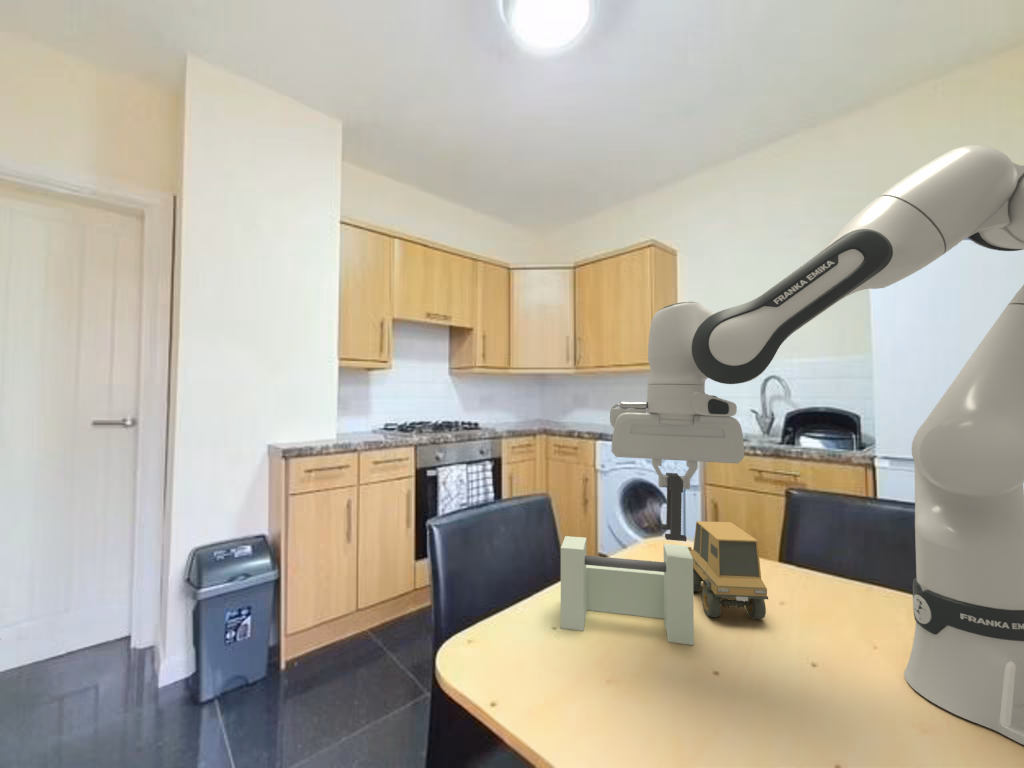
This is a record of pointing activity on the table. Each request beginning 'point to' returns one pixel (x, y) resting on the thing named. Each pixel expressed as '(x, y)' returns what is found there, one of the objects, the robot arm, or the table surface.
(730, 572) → the toy car
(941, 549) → the robot arm
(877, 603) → the table surface
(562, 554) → the lever switch frame
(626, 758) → the table surface
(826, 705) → the table surface
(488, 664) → the table surface
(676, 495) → the dark grey flanged post
